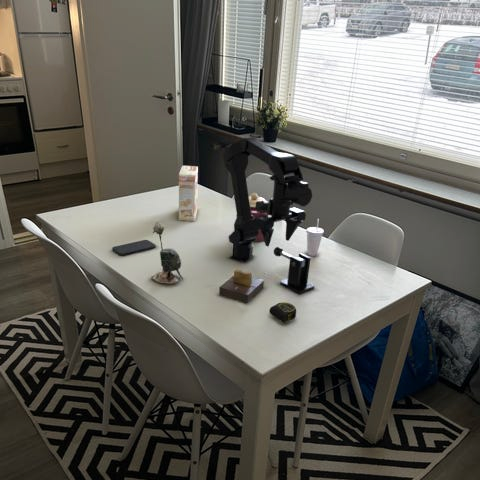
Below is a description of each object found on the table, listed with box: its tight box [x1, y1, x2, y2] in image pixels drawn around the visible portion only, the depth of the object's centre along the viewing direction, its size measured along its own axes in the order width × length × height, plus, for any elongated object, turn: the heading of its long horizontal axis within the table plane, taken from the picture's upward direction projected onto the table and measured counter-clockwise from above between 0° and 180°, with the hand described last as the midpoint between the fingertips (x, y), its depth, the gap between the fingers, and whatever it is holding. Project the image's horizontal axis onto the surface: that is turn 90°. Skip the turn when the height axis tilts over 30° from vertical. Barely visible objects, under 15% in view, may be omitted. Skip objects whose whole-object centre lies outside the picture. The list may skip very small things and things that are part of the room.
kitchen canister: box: [236, 192, 270, 243], centre depth 200 cm, size 13×13×18 cm
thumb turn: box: [233, 268, 253, 286], centre depth 161 cm, size 6×2×4 cm, turn 64°
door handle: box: [273, 246, 306, 267], centre depth 167 cm, size 13×3×3 cm, turn 40°
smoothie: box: [305, 218, 324, 257], centre depth 189 cm, size 6×6×14 cm
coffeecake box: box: [178, 165, 199, 222], centre depth 218 cm, size 15×7×20 cm, turn 179°
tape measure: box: [269, 301, 297, 324], centre depth 149 cm, size 7×7×4 cm
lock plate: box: [218, 275, 265, 304], centre depth 163 cm, size 12×10×3 cm
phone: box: [111, 239, 157, 256], centre depth 188 cm, size 7×1×15 cm
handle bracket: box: [279, 252, 315, 296], centre depth 166 cm, size 9×7×11 cm
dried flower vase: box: [150, 222, 184, 285], centre depth 162 cm, size 8×11×20 cm
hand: (277, 243), depth 168 cm, fingers open, 9 cm apart
